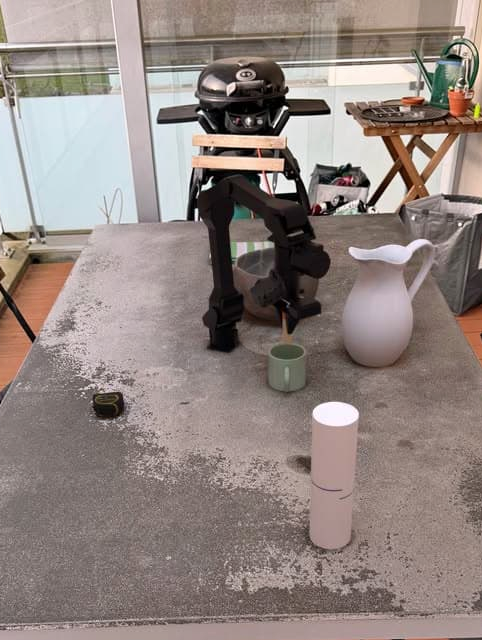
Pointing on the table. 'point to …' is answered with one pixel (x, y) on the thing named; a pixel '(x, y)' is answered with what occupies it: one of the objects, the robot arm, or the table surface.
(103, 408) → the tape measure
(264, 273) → the bowl
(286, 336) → the marker
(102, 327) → the table surface
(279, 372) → the green handled mug
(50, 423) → the table surface
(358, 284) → the pitcher
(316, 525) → the cylindrical container
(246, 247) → the dish towel
